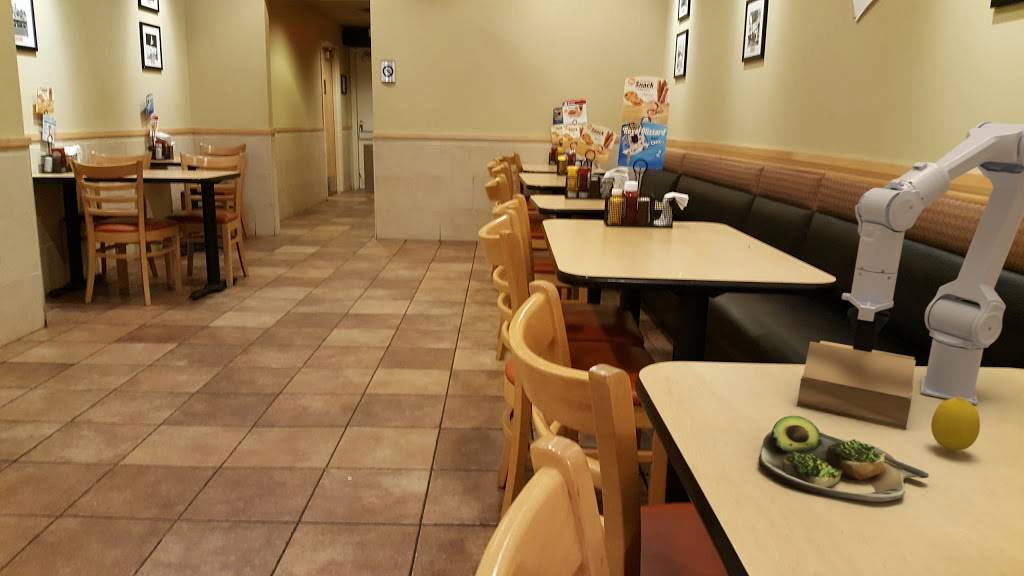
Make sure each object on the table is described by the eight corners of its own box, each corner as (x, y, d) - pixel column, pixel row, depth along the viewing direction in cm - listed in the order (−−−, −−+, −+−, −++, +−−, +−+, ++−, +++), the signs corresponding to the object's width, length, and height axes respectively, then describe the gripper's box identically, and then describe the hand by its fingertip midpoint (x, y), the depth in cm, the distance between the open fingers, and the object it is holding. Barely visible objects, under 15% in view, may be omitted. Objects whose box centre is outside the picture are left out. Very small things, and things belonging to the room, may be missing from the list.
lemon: (980, 464, 97) (992, 407, 95) (934, 458, 98) (945, 402, 96) (964, 446, 102) (975, 392, 100) (921, 441, 103) (931, 387, 101)
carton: (808, 383, 124) (812, 358, 123) (908, 404, 117) (913, 377, 116) (796, 405, 114) (800, 378, 113) (905, 429, 107) (911, 400, 106)
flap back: (814, 356, 123) (814, 359, 124) (911, 375, 117) (911, 377, 117) (820, 340, 128) (820, 343, 128) (914, 357, 121) (914, 359, 121)
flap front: (810, 342, 114) (810, 341, 114) (915, 361, 107) (915, 360, 107) (803, 377, 113) (803, 376, 112) (909, 398, 106) (909, 397, 106)
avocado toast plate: (920, 461, 98) (926, 429, 97) (934, 526, 82) (942, 488, 81) (767, 430, 105) (771, 399, 104) (752, 484, 89) (757, 448, 88)
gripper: (852, 259, 119) (838, 340, 122) (841, 273, 106) (827, 362, 109) (901, 265, 115) (886, 348, 119) (896, 280, 103) (880, 373, 106)
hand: (861, 356), depth 114 cm, fingers closed
